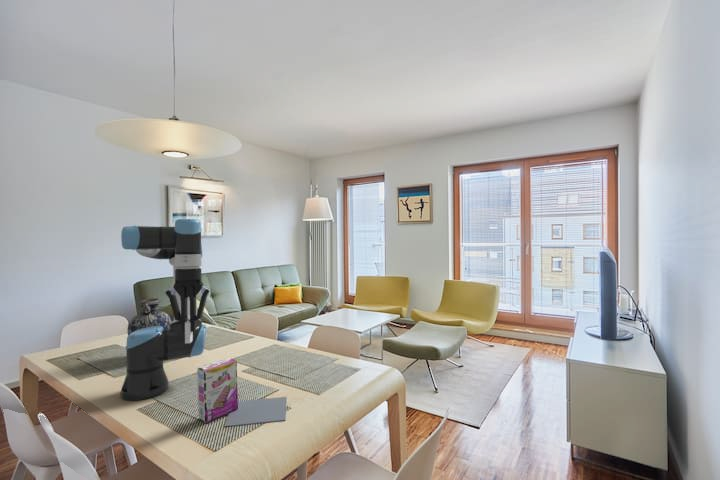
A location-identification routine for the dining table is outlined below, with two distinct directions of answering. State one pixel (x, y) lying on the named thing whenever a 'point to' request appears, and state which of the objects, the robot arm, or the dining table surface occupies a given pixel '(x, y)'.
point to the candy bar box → (217, 389)
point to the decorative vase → (149, 316)
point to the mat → (258, 412)
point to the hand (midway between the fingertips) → (188, 341)
